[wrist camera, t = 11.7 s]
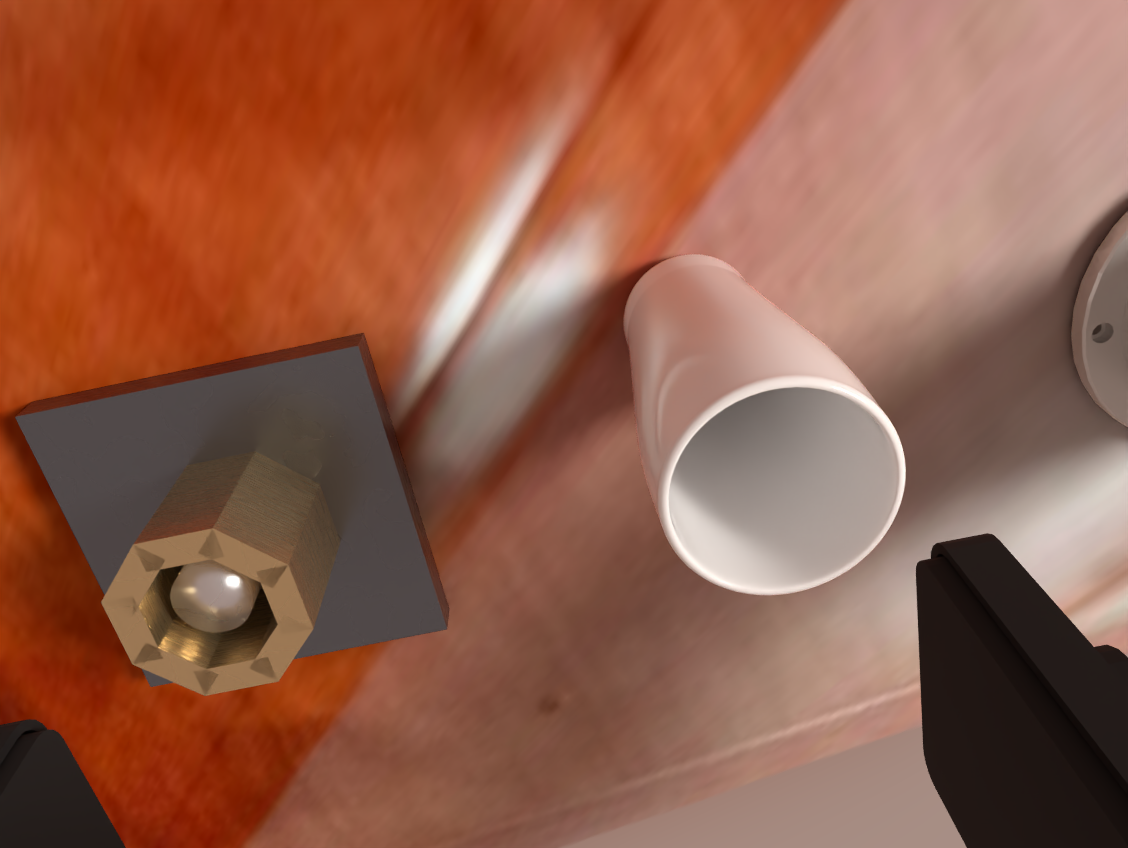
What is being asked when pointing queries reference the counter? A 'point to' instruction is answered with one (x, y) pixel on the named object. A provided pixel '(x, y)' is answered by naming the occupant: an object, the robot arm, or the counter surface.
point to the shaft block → (237, 426)
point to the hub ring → (241, 542)
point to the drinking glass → (754, 434)
